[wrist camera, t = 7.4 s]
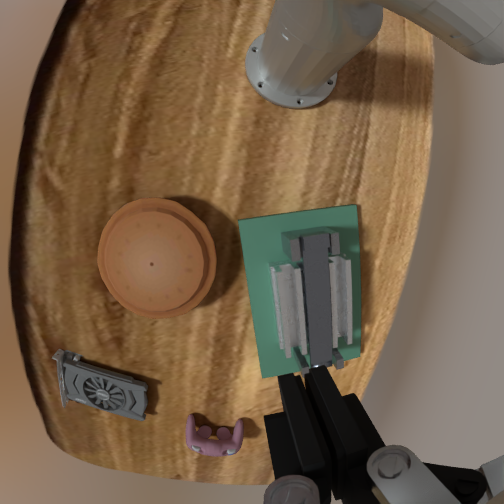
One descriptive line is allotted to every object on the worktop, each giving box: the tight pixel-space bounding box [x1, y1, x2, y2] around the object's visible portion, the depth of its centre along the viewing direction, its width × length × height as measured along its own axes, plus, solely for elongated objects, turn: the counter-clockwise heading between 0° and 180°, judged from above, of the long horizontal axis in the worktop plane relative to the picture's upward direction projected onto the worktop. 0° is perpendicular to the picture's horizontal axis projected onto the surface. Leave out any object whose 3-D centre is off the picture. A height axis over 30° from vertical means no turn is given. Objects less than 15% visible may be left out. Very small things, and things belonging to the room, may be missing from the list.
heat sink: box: [268, 226, 352, 377], centre depth 38 cm, size 18×10×6 cm, turn 8°
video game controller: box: [186, 414, 244, 456], centre depth 44 cm, size 10×5×7 cm, turn 80°
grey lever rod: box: [300, 231, 332, 368], centre depth 36 cm, size 19×3×2 cm, turn 8°
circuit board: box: [238, 204, 361, 378], centre depth 42 cm, size 24×16×1 cm, turn 8°
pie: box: [97, 198, 217, 319], centre depth 37 cm, size 15×16×5 cm
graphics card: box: [52, 349, 148, 421], centre depth 42 cm, size 17×4×12 cm
